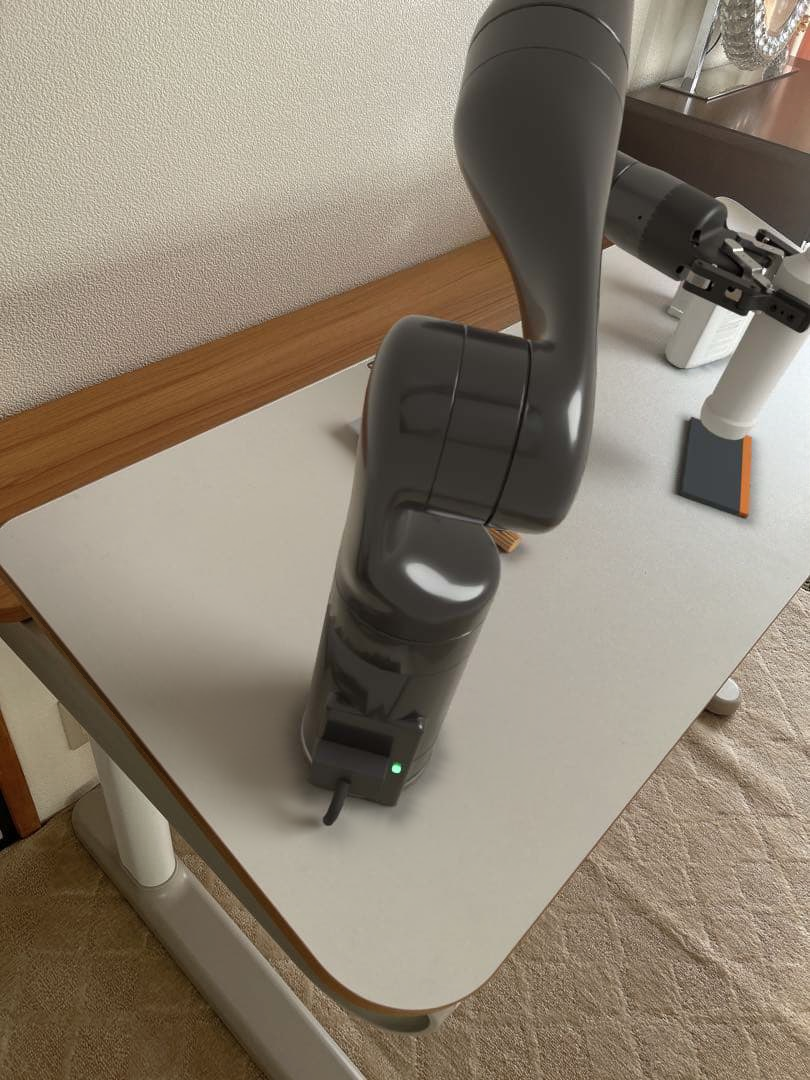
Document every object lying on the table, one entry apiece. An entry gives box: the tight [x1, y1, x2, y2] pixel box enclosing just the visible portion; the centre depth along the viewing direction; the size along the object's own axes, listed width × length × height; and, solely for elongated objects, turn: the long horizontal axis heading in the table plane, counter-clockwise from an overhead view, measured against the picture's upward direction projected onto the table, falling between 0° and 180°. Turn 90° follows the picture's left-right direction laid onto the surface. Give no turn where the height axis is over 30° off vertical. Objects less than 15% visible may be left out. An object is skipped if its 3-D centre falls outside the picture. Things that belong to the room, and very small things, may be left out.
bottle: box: [699, 246, 810, 440], centre depth 77 cm, size 5×5×25 cm
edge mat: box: [679, 416, 753, 519], centre depth 94 cm, size 14×7×1 cm, turn 162°
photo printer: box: [664, 268, 766, 370], centre depth 106 cm, size 10×4×12 cm, turn 126°
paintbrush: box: [348, 417, 522, 553], centre depth 82 cm, size 4×3×20 cm
